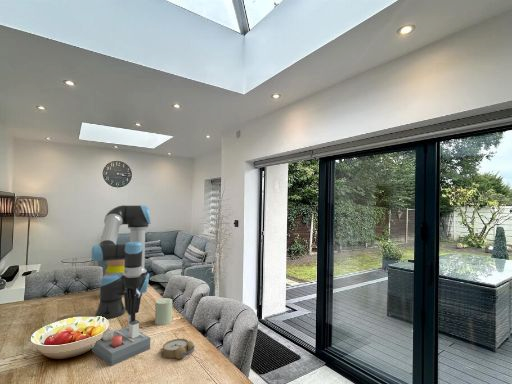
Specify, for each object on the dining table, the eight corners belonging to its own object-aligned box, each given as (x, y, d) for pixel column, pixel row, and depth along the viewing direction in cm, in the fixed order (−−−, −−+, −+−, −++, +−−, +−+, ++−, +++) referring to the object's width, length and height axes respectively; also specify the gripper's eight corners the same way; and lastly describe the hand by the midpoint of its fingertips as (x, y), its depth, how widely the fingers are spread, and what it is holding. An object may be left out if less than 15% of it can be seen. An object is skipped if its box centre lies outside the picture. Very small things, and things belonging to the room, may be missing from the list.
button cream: (101, 341, 122) (101, 332, 122) (110, 338, 125) (110, 329, 126) (105, 344, 120) (105, 334, 120) (114, 340, 123) (114, 331, 123)
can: (166, 326, 148) (167, 303, 148) (151, 324, 150) (151, 302, 150) (175, 319, 157) (175, 297, 157) (160, 317, 159) (160, 296, 159)
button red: (109, 347, 117) (109, 337, 118) (119, 343, 121) (119, 334, 121) (114, 350, 115) (114, 340, 115) (123, 346, 118) (123, 336, 118)
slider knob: (128, 336, 124) (128, 321, 125) (135, 334, 127) (135, 319, 127) (132, 338, 122) (132, 323, 123) (139, 336, 125) (139, 321, 125)
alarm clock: (175, 337, 130) (199, 338, 123) (176, 348, 129) (201, 350, 122) (156, 347, 120) (182, 349, 113) (157, 359, 119) (183, 362, 112)
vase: (94, 298, 191) (96, 254, 192) (115, 289, 212) (117, 249, 214) (123, 300, 187) (124, 255, 189) (141, 290, 209) (143, 250, 210)
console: (91, 350, 122) (91, 337, 122) (128, 336, 136) (129, 324, 136) (111, 365, 111) (112, 351, 111) (150, 348, 124) (150, 336, 124)
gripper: (117, 275, 128) (116, 326, 127) (132, 279, 120) (130, 334, 119) (133, 272, 134) (131, 321, 133) (148, 276, 126) (146, 328, 125)
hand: (131, 327), depth 126 cm, fingers closed
